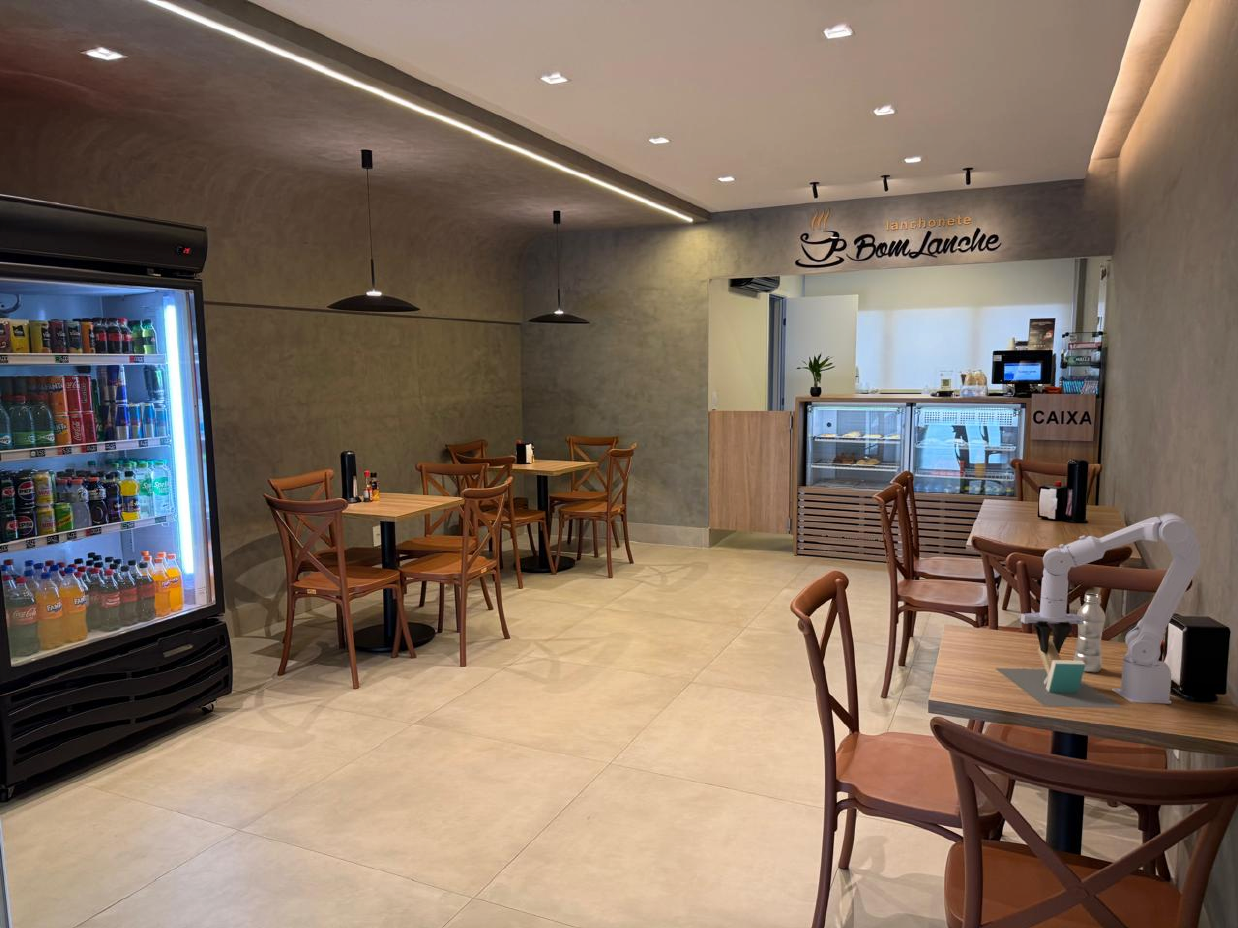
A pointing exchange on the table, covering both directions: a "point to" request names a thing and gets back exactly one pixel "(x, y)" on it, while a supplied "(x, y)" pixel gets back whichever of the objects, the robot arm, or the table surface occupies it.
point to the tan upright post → (1049, 658)
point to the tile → (1065, 676)
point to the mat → (1037, 689)
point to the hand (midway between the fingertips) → (1049, 651)
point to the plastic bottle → (1090, 633)
